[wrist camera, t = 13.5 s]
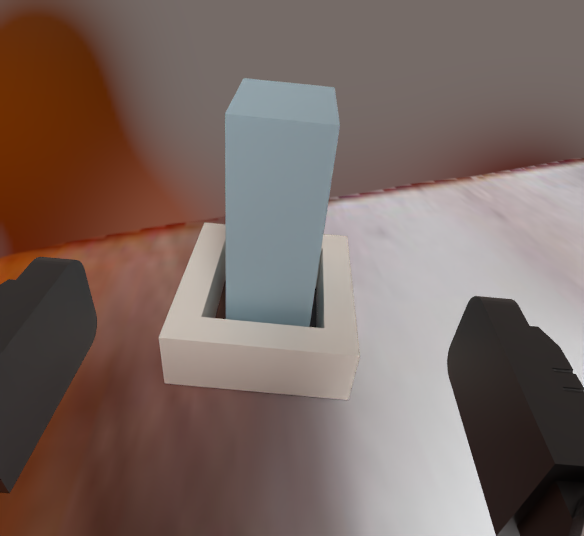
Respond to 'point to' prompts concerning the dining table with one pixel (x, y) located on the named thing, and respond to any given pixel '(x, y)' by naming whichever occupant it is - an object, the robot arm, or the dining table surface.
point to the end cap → (261, 331)
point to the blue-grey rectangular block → (277, 197)
